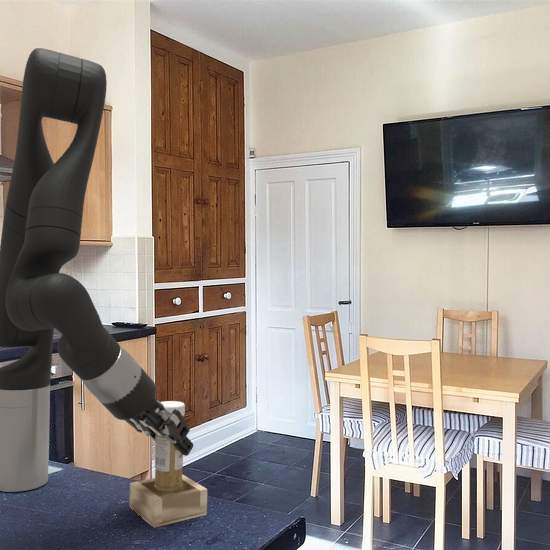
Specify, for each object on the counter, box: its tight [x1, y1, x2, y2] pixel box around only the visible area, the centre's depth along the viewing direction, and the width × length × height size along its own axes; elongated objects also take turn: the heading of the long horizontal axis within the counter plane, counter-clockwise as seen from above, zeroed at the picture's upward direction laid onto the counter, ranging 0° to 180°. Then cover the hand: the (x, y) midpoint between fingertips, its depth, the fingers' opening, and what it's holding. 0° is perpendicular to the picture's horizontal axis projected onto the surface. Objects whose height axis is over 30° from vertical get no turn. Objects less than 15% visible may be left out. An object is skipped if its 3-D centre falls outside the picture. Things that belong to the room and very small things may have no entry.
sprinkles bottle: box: [154, 400, 186, 492], centre depth 97 cm, size 5×5×14 cm
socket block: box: [129, 473, 208, 529], centre depth 98 cm, size 9×9×4 cm
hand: (178, 447), depth 99 cm, fingers closed on sprinkles bottle, 4 cm apart
